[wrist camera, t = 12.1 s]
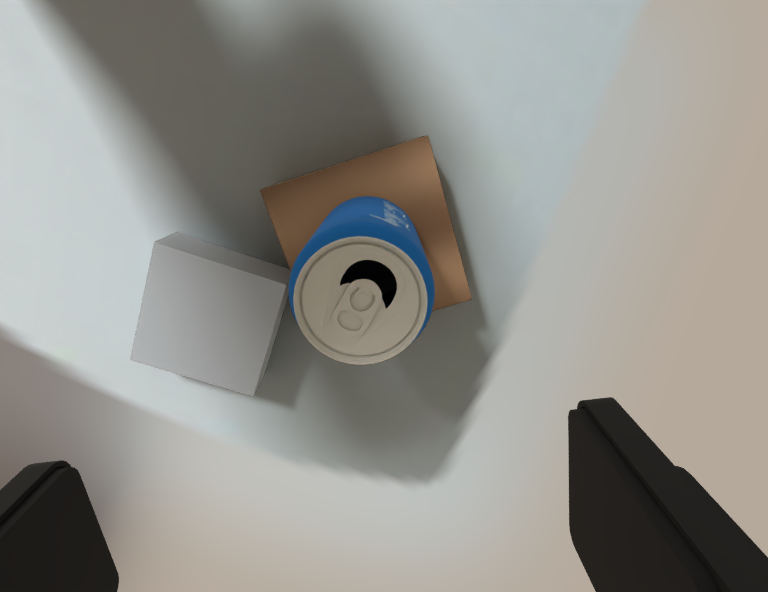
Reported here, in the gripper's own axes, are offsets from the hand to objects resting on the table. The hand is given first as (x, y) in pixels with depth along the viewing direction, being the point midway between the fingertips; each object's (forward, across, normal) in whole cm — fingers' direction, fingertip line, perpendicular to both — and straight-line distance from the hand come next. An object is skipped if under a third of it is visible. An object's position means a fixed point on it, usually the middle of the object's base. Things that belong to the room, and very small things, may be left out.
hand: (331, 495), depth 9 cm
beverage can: (+24, 0, 0) cm, 24 cm away
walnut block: (+28, 0, 0) cm, 28 cm away
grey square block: (+28, +12, +4) cm, 31 cm away
